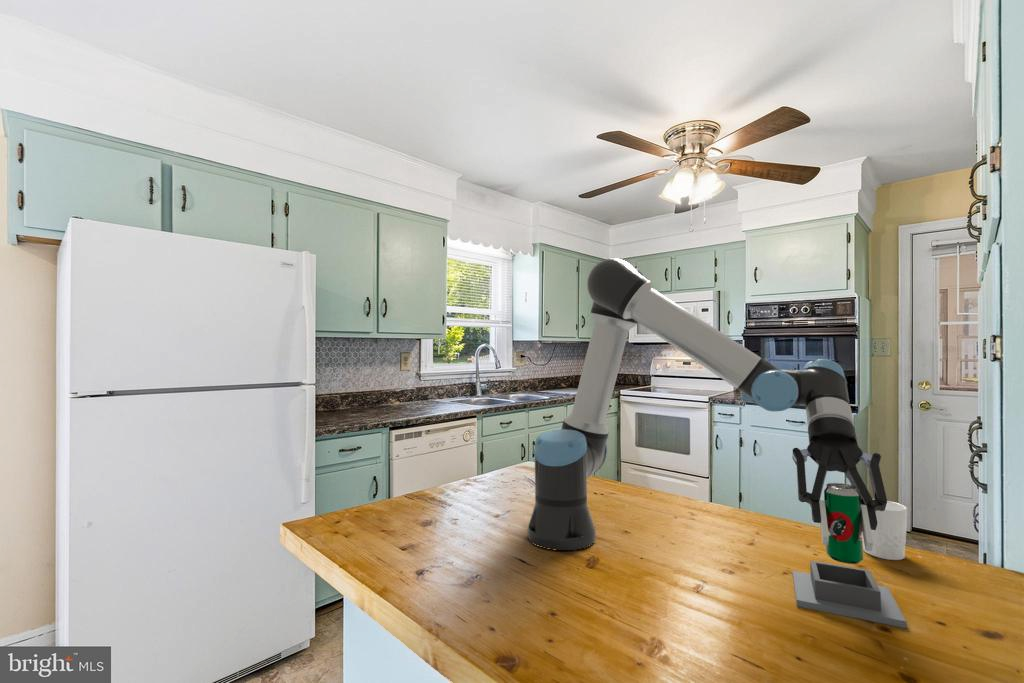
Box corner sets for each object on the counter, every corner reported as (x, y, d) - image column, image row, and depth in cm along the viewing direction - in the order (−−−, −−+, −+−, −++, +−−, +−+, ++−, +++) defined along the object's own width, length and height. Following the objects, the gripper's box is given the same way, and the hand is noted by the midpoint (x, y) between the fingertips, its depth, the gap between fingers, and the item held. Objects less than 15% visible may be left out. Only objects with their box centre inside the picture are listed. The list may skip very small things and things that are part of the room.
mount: (796, 606, 77) (796, 581, 77) (792, 576, 88) (792, 554, 88) (906, 628, 71) (905, 600, 71) (887, 593, 81) (887, 569, 81)
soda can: (869, 566, 76) (866, 490, 77) (834, 564, 77) (831, 489, 78) (853, 553, 81) (851, 482, 82) (821, 551, 82) (818, 481, 83)
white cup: (898, 548, 100) (896, 500, 100) (916, 564, 92) (914, 512, 93) (854, 544, 102) (852, 497, 103) (868, 558, 95) (866, 508, 95)
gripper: (886, 442, 89) (915, 565, 74) (776, 435, 98) (782, 545, 83) (892, 416, 85) (924, 542, 70) (776, 412, 93) (782, 523, 78)
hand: (847, 543), depth 76 cm, fingers closed on soda can, 5 cm apart
